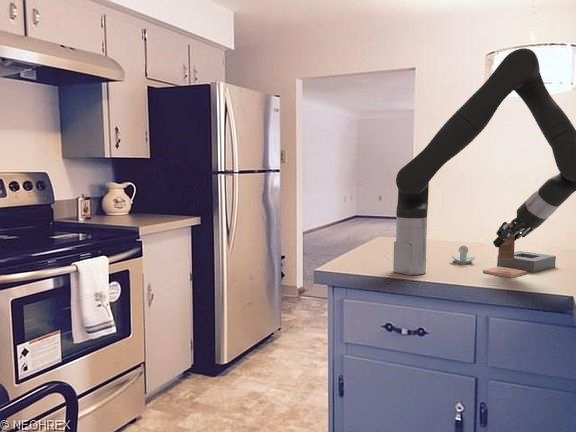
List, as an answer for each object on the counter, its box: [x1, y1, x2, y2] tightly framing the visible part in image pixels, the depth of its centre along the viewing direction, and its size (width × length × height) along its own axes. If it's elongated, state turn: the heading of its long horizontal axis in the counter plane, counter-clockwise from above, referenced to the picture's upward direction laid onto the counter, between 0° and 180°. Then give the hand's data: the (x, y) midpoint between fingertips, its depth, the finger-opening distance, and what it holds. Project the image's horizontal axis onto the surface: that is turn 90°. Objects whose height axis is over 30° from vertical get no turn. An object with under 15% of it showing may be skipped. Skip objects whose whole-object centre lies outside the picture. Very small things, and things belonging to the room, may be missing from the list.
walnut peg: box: [497, 226, 516, 261], centre depth 149 cm, size 4×4×10 cm
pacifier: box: [451, 244, 476, 265], centre depth 166 cm, size 7×6×6 cm
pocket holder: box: [496, 250, 557, 273], centre depth 159 cm, size 14×12×4 cm
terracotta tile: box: [482, 266, 528, 279], centre depth 150 cm, size 9×9×1 cm
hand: (501, 244), depth 151 cm, fingers closed on walnut peg, 4 cm apart
